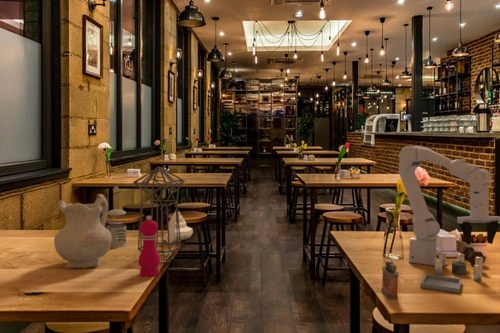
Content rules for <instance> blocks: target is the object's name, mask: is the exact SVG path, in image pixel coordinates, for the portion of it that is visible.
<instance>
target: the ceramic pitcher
mask: <svg viewBox="0 0 500 333" xmlns="http://www.w3.org/2000/svg"><path fill="white" fill-rule="evenodd" d="M57 204H58V209H59V211H61V212H64V215H65V221H66V223H65V225H64V226H63V228H61V229H59V231H58V232H56V233H55V235H54V238H53V239H54V248H55V251H56V253H57V254H58V256H59V257H61V259H62V260H64V261H67V263H66V264H65V265H64V268H66V269H71V268H72V269H73V268H75V269H76V268H77V269H78V268H79V269H88V268H89V269H90V268H94V267H99V265H100V264H101V261H100V260H99V258H103V257H104V256H105V255H106V254H107V253H108V251H109V249H111V248H110V246H111V240H112V236H111V233H110V231H109V230H108V229H107V227H106V228H105V224H106V222H107V220H108V215H107V214H108V212H109V203H108V200H107V198H106V197H105V194H102V193H98V194H96V199H95V201H94V203H85V204H84V203H80V202H76V203H71V202H70V203H66V202H65V200H63V199H62V200H59V201H57ZM101 213H102V214H101Z"/></svg>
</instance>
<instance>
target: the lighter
mask: <svg viewBox="0 0 500 333" xmlns="http://www.w3.org/2000/svg"><path fill="white" fill-rule="evenodd" d="M384 262H385V266H382V267H381V271H382V278H381V279H382V280H381V282H382V284H381V286H382V287H381V293H382V295H383V296H384V297H385V298H387V299H389V300H390V301H391V300H392V301H396V300H397V301H398V300H399V295H398V289H399V288H398V283H399V281H398V280H399V278H398V277H399V272H398V271H397V266H396V264H394V261H389V260H385V261H384Z"/></svg>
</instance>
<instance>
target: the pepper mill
mask: <svg viewBox="0 0 500 333" xmlns="http://www.w3.org/2000/svg"><path fill="white" fill-rule="evenodd" d="M151 219H152V220H151ZM157 231H159V223H158V224H157V223H156V220H153V217H151V215H147V216H146V218H145V220H144V221H142V223H141V225H140V233H142V235H141V236H142V246H143V248H142V251H140V254H139V256H138V265H139V266H140V267H141V268H139V275H140V276H141V277H146V278H147V277H148V278H149V277H155V276H158V275H159V273H160V270H159V265H160V264H161V263H160V262H161V257H159V255H160V253H158V251H159V250H157V249H156V244H155V242H156V238H157V237H156V236H157V234H156V232H157Z"/></svg>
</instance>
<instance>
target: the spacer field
mask: <svg viewBox="0 0 500 333" xmlns="http://www.w3.org/2000/svg"><path fill="white" fill-rule="evenodd" d="M446 260H447V253H446V252H443V251H441V252H440V251H439V252H438V260H435V265H434V275H438V276H443V268H444V269H445V268H446V264H447V262H446ZM456 261H460V262H464V263H465V257H464V254H462V253H460V252H459V253H457V254H456ZM483 267H484V263H483V257H475V265H473V281H474V280H475V281H474V282H479V281H480V282H482V280H483V272H484V270H483V269H484V268H483Z"/></svg>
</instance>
